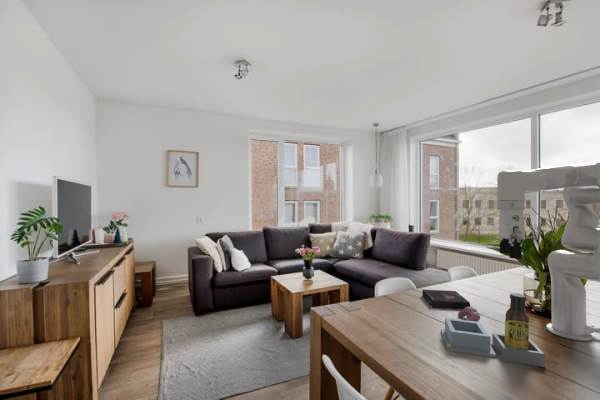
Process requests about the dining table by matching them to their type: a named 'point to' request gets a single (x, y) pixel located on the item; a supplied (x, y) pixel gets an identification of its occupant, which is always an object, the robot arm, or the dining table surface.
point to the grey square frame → (518, 352)
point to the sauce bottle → (517, 323)
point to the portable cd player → (445, 299)
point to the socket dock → (467, 337)
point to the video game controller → (470, 314)
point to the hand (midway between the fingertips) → (510, 255)
